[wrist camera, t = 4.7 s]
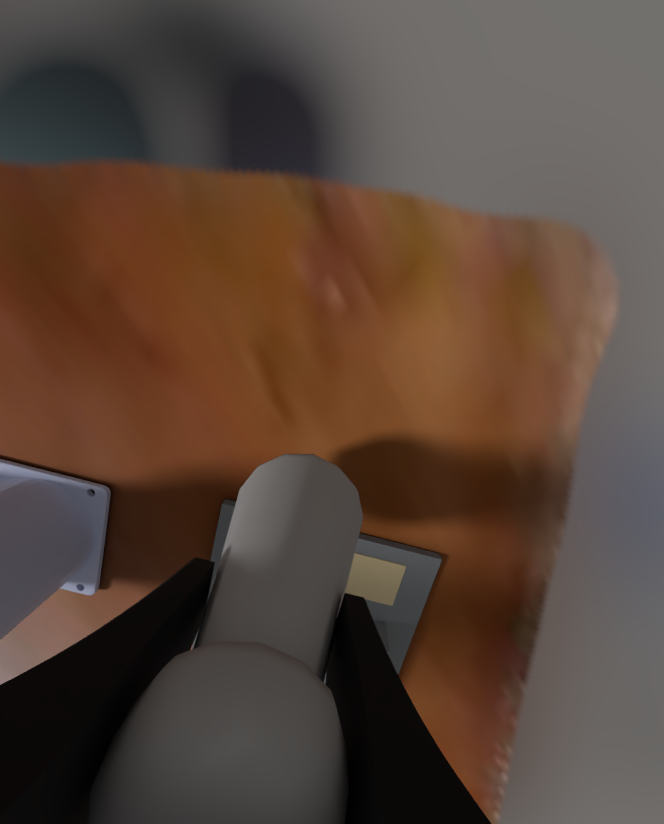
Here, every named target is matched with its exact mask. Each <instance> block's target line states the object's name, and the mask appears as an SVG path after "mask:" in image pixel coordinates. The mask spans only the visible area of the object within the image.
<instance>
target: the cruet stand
mask: <svg viewBox="0 0 664 824" xmlns="http://www.w3.org/2000/svg"><path fill="white" fill-rule="evenodd" d="M235 504H236V502H235V501H231V500H227V499H225V500H224V502H223V503H222V506H221V511H220V516H219V521H218V526H217V531H216V535H215V540H214V545H213V550H212V555H211V560H210V561H212V562H215V565H214V570H213V575H212V580H211V585H210V590H209V595H208V599H209V596H210V593H211V590H212V586H213V583H214V580H215V577H216V573H217V570H218V566H219V563H220V559H221V555H222V552H223V548H224V545H225V541H226V537H227V534H228V530H229V526H230V523H231V519H232V515H233V512H234V508H235ZM441 561H442V559H441V556H440V554H439V553H435V552H431V551H427V550H423V549H419V548H415V547H411V546H407V545H404V544H400V543H396V542H392V541H388V540H384V539H380V538H376V537H372V536H368V535H364V534H360V533H359V537H358V541H357V545H356V549H355V553H354V558H353V562H352V566H351V570H350V574H349V579H348V583H347V587H346V591H345V593H347V594H352V595H356V596H360V597H364V599H365V600H366V602H367V605H368V608H369V610H370V613H371V615H372V618H373V620H374V623H375V625H376V628H377V630H378V633H379V635H380V637H381V640H382V642H383V644H384V646H385V649H386V651H387V653H388V655H389V657H390V659H391V661H392V664H393V666H394V668H395V670H396V672H397V674H399V671H400V669H401V666H402V664H403V661H404V658H405V656H406V653H407V650H408V648H409V645H410V642H411V640H412V637H413V635H414V632H415V629H416V627H417V624H418V621H419V619H420V616H421V614H422V611H423V608H424V606H425V603H426V600H427V598H428V595H429V593H430V590H431V587H432V585H433V582H434V579H435V577H436V574H437V572H438V569H439V566H440V564H441ZM207 602H208V601H207ZM198 631H199V630H198ZM197 635H198V633H197ZM197 635H196V637H195V640H194V642H193V647H194V644H195V641H196V638H197ZM193 647H192V649H193ZM325 682H326V675H325V679H324V684H325Z"/></svg>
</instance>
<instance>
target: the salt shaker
mask: <svg viewBox="0 0 664 824" xmlns="http://www.w3.org/2000/svg"><path fill="white" fill-rule="evenodd" d="M362 521H363V514H362V509H361V504H360V499H359V494H358V491H357V489H356V487H355V486H354V484H353V483H352V482H351V481H350V480H349V478H348V477H347V476H346V475H345V474H344V472H343V471H342V470H341V469H340V468H339V467H338V466H337V465H335V464H333V463H330V462H328V461H326V460H324V459H322V458H320V457H318V456H316V455H314V454H284V455H282V456H279V457H277V458H275V459H273V460H270V461H268V462H266V463H264V464H261V465H260V466H259V467H257V468H256V469H255V471H254V472H253V473H252V474H251V476H250V477H249V478H248V479H247V481H246V482H245V483H244V484H243V486H242V487H241V488H240V490H239V493H238V497H237V501H236V504H235V508H234V512H233V515H232V519H231V523H230V526H229V530H228V534H227V537H226V541H225V545H224V548H223V552H222V555H221V559H220V563H219V566H218V570H217V573H216V577H215V580H214V583H213V586H212V590H211V593H210V596H209V599H208V602H207V606H206V609H205V612H204V615H203V618H202V622H201V625H200V628H199V631H198V635H197V638H196V641H195V644H194V647H193V649H192V650H190V651H187V652H184V653H182V654H179V655H176V656H175V657H174V658H173V659H172V660H171V661H170V662H169V663H168V664H167V665H166V666H165V667H164V668H163V669H162V670H161V671H160V672H159V674H158V675H157V676H156V677H155V678H154V679H153V681H152V682H151V683H150V684H149V685H148V687H147V688H146V689H145V690H144V691H143V693H142V694H141V695H140V696H139V697H138V698H137V700H136V701H135V703H134V705H133V706H132V708H131V709H130V711H129V712H128V714H127V716H126V717H125V719H124V720H123V722H122V724H121V725H120V727H119V728H118V730H117V731H116V733H115V735H114V736H113V738H112V740H111V743H110V745H109V747H108V750H107V752H106V755H105V757H104V759H103V762H102V764H101V766H100V769H99V771H98V773H97V776H96V778H95V781H94V783H93V785H92V788H91V792H90V800H89V808H88V816H87V824H345V818H346V809H347V801H348V793H349V784H348V767H347V750H346V743H345V739H344V735H343V731H342V727H341V723H340V720H339V716H338V712H337V708H336V704H335V701H334V698H333V694H332V691H331V690H330V689H329V688H328V687H327V686H326V685H325V684H324V679H325V675H326V671H327V667H328V662H329V658H330V654H331V650H332V646H333V641H334V637H335V631H336V623H337V617H338V614H339V610H340V607H341V604H342V600H343V597H344V594H345V591H346V587H347V583H348V579H349V574H350V570H351V566H352V562H353V558H354V553H355V549H356V545H357V541H358V537H359V533H360V529H361V525H362Z"/></svg>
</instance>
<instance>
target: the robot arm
mask: <svg viewBox="0 0 664 824" xmlns="http://www.w3.org/2000/svg"><path fill="white" fill-rule="evenodd" d="M92 489H93V490H94V491H95V493H93V492H92ZM110 497H111V491H110V489H109V488H108V487H107V486H105V485H101V484H97V483H93V482H89V481H86V480H82V479H78V478H74V477H70V476H66V475H62V474H58V473H54V472H50V471H46V470H42V469H38V468H34V467H30V466H27V465H23V464H19V463H15V462H11V461H7V460H3V459H0V640H1V639H2V638H3V637H4V636H5V635H7V634H8V633H9V632H10V631H11V630H12V629H13V628H15V627H16V626H17V625H18V624H19V623H20V622H21V621H23V620H24V619H25V618H26V617H27V616H28V615H29V614H31V613H32V612H33V611H34V610H35V609H36V608H37V607H39V606H40V605H41V604H42V603H43V602H44V601H46V600H47V599H48V598H49V597H50V596H51V595H52V594H54V593H55V592H56V591H57V590H58V589H59V588H61V589H65V590H69V591H73V592H77V593H81V594H85V595H93V594H94V593H95V592H96V591H97V590H98V589H99V584H100V576H101V568H102V560H103V552H104V544H105V536H106V528H107V520H108V512H109V505H110ZM214 565H215V562H212V561H208V560H204V559H200V558H194V559H192V560H191V561H190V562H188V563H187V564H186V565H185V566H184V567H182V568H181V569H180V570H179V571H178V572H176V573H175V574H174V575H173V576H171V577H170V578H169V579H168V580H166V581H165V582H164V583H163V584H161V585H160V586H159V587H157V588H156V589H155V590H153V591H152V592H151V593H149V594H148V595H147V596H145V597H144V598H143V599H141V600H140V601H139V602H137V603H136V604H134V605H133V606H132V607H130V608H129V609H127V610H126V611H124V612H123V613H122V614H120V615H119V616H117V617H116V618H114V619H113V620H111V621H110V622H108V623H107V624H105V625H104V626H102V627H101V628H99V629H98V630H96V631H95V632H93V633H92V634H90V635H88V636H87V637H85V638H84V639H82V640H80V641H79V642H77V643H75V644H74V645H72V646H70V647H69V648H67V649H65V650H64V651H62V652H60V653H58V654H57V655H55V656H53V657H52V658H50V659H48V660H46V661H44V662H42V663H41V664H39V665H37V666H35V667H33V668H31V669H30V670H28V671H26V672H24V673H22V674H20V675H19V676H17V677H15V678H13V679H11V680H9V681H7V682H5V683H3V684H1V685H0V824H87V816H88V808H89V800H90V792H91V788H92V785H93V783H94V781H95V778H96V776H97V773H98V771H99V769H100V766H101V764H102V762H103V759H104V757H105V755H106V752H107V750H108V747H109V745H110V743H111V740H112V738H113V736H114V735H115V733H116V731H117V730H118V728H119V727H120V725H121V724H122V722H123V720H124V719H125V717H126V716H127V714H128V712H129V711H130V709H131V708H132V706H133V705H134V703H135V701H136V700H137V698H138V697H139V696H140V695H141V694H142V693H143V691H144V690H145V689H146V688H147V687H148V685H149V684H150V683H151V682H152V681H153V679H154V678H155V677H156V676H157V675H158V674H159V672H160V671H161V670H162V669H163V668H164V667H165V666H166V665H167V664H168V663H169V662H170V661H171V660H172V659H173V658H174V657H175V656H176V655H179V654H182V653H184V652H187V651H190V649H191V646H192V644H193V642H194V640H195V637H196V635H197V633H198V630H199V628H200V625H201V622H202V618H203V615H204V612H205V609H206V606H207V601H208V595H209V590H210V585H211V580H212V575H213V570H214ZM325 685H326V686H327V687H328V688H329V689H330V690H331V691H332V694H333V698H334V701H335V704H336V708H337V712H338V716H339V720H340V723H341V727H342V731H343V735H344V739H345V743H346V750H347V767H348V784H349V793H348V801H347V809H346V818H345V824H491V823H490V821H489V820H488V819H487V817H486V816H485V814H484V813H483V812H482V810H481V809H480V808H479V806H478V805H477V803H476V802H475V800H474V799H473V798H472V796H471V795H470V793H469V792H468V790H467V789H466V788H465V786H464V785H463V783H462V782H461V780H460V779H459V778H458V776H457V775H456V773H455V772H454V770H453V769H452V768H451V766H450V765H449V763H448V761H447V760H446V758H445V757H444V755H443V754H442V752H441V751H440V749H439V747H438V746H437V744H436V743H435V741H434V739H433V738H432V736H431V734H430V733H429V731H428V729H427V728H426V726H425V724H424V723H423V721H422V719H421V717H420V716H419V714H418V712H417V710H416V708H415V707H414V705H413V703H412V701H411V699H410V697H409V695H408V694H407V692H406V690H405V688H404V686H403V684H402V682H401V680H400V678H399V676H398V674H397V672H396V670H395V668H394V666H393V664H392V661H391V659H390V657H389V655H388V653H387V651H386V649H385V646H384V644H383V642H382V640H381V637H380V635H379V633H378V630H377V628H376V625H375V623H374V620H373V618H372V615H371V613H370V610H369V608H368V605H367V602H366V600H365V599H364V597H360V596H356V595H352V594H347V593H345V594H344V597H343V600H342V604H341V607H340V610H339V614H338V617H337V623H336V631H335V637H334V641H333V646H332V650H331V654H330V658H329V662H328V667H327V671H326V682H325Z"/></svg>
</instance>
